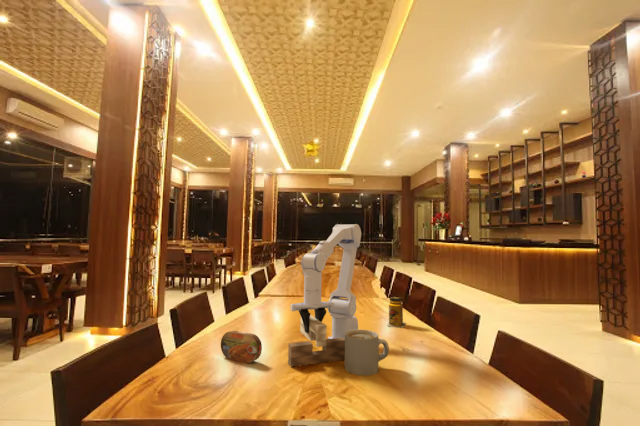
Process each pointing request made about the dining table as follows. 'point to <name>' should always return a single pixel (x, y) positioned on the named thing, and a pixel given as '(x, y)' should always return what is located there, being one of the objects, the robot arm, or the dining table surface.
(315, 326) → the ash notched plate
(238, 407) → the dining table surface
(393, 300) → the condiment
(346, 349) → the coffee mug
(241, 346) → the tin
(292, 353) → the walnut slotted plate
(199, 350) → the dining table surface
